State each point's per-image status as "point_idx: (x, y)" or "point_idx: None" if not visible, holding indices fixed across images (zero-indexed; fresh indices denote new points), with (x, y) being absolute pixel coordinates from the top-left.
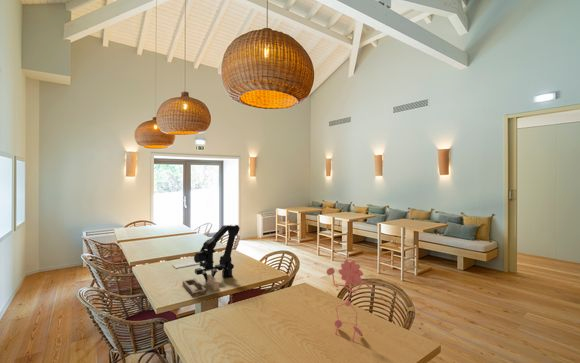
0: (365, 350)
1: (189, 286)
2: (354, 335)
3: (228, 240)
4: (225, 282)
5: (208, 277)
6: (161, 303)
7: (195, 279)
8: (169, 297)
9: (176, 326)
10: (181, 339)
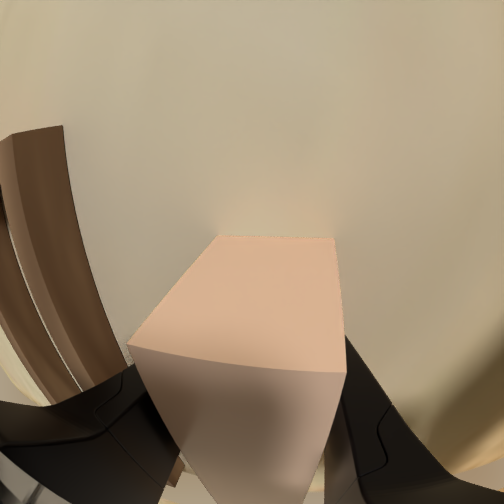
0: None
1: (32, 372)
2: None
3: None
4: (459, 407)
5: (205, 476)
6: (8, 372)
7: (18, 199)
8: (3, 347)
9: None
10: None
